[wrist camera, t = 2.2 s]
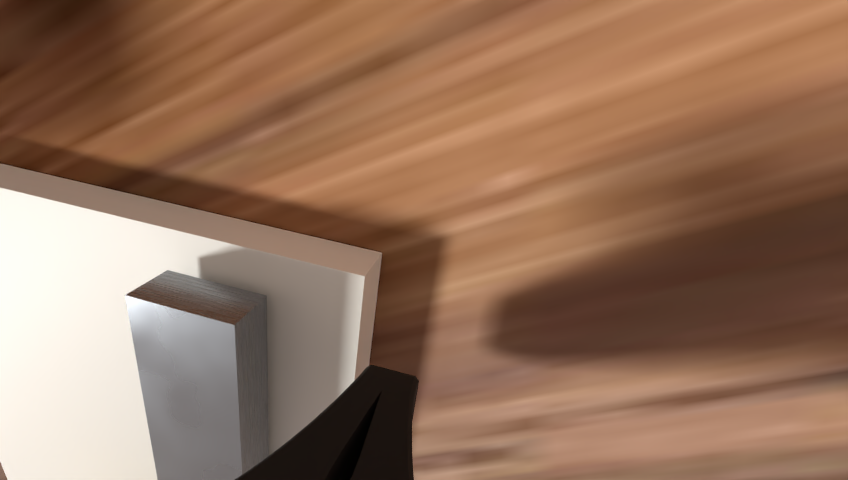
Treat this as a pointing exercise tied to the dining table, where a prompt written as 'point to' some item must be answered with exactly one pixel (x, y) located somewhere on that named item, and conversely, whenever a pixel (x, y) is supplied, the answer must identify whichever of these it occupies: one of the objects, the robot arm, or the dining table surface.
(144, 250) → the base board
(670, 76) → the dining table surface
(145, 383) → the latch bar
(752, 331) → the dining table surface
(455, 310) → the dining table surface
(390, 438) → the robot arm
